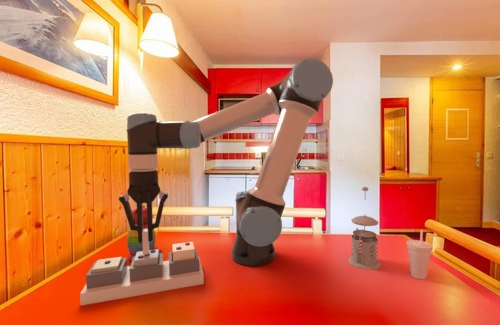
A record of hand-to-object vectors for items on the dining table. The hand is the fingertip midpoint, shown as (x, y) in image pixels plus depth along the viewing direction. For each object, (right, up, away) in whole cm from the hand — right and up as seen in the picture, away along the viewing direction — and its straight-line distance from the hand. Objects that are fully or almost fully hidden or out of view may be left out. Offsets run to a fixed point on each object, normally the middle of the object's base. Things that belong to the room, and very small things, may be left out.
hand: (146, 252), depth 72 cm
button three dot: (0, -5, 0) cm, 5 cm away
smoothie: (+79, -8, +2) cm, 79 cm away
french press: (+66, -7, +11) cm, 68 cm away
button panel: (0, -9, +1) cm, 9 cm away
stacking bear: (-9, -8, +18) cm, 22 cm away
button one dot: (-9, -6, -3) cm, 11 cm away
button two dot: (+10, -3, +3) cm, 11 cm away
